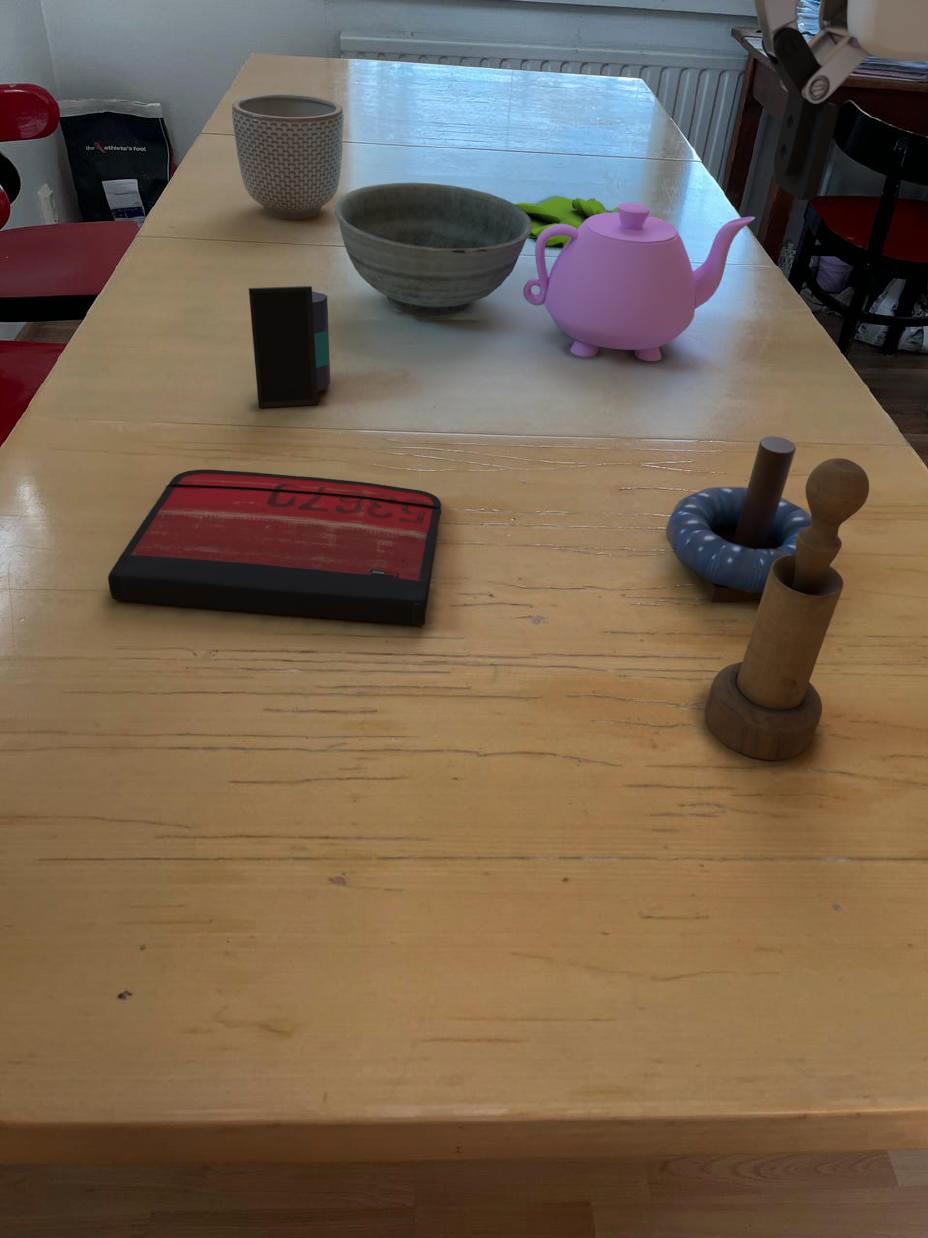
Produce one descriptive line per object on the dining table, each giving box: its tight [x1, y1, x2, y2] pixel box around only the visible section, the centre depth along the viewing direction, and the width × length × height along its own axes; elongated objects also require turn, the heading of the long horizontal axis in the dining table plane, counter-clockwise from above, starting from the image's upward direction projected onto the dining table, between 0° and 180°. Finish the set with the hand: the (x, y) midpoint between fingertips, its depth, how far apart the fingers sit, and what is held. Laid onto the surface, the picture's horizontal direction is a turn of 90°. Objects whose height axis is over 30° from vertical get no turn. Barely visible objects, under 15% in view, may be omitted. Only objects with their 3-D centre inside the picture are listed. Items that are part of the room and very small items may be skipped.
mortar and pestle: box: [704, 457, 870, 761], centre depth 56 cm, size 7×6×18 cm
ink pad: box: [107, 469, 442, 627], centre depth 72 cm, size 16×2×21 cm
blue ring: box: [665, 486, 812, 593], centre depth 72 cm, size 11×11×3 cm
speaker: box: [248, 285, 331, 409], centre depth 89 cm, size 8×6×10 cm
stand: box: [693, 435, 797, 603], centre depth 71 cm, size 8×8×10 cm
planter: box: [231, 93, 345, 221], centre depth 130 cm, size 14×14×13 cm
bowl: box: [333, 181, 532, 318], centre depth 108 cm, size 21×21×10 cm
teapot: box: [522, 202, 756, 362], centre depth 102 cm, size 22×16×14 cm
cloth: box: [514, 195, 619, 248], centre depth 137 cm, size 20×22×2 cm
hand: (888, 193), depth 48 cm, fingers open, 9 cm apart
